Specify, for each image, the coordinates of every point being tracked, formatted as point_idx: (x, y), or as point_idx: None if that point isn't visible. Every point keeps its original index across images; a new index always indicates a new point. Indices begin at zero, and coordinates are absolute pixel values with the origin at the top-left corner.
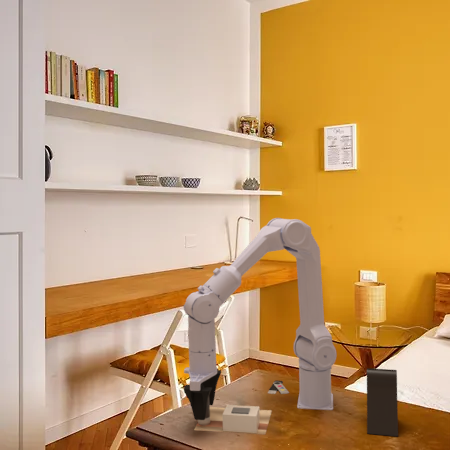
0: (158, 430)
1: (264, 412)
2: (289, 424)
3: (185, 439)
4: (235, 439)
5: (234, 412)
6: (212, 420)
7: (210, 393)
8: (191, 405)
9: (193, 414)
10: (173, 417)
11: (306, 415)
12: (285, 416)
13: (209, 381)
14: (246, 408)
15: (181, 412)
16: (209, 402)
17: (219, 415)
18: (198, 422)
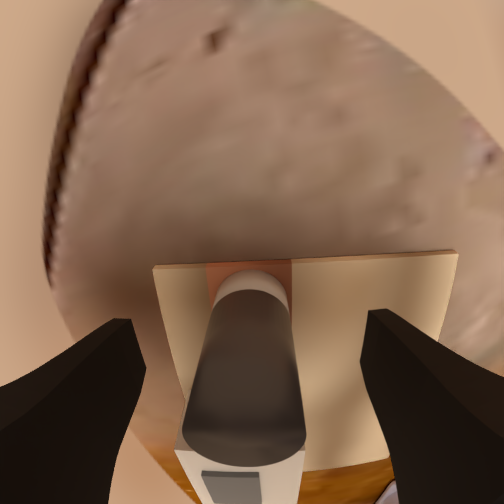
0: (126, 63)
1: (374, 451)
2: (301, 489)
3: (76, 249)
4: (158, 417)
5: (203, 480)
6: (293, 331)
7: (390, 411)
8: (40, 370)
9: (93, 332)
10: (325, 78)
11: (355, 494)
12: (353, 477)
13: (424, 492)
14: (256, 499)
15: (403, 112)
16: (367, 359)
17: (355, 345)
18: (229, 279)
